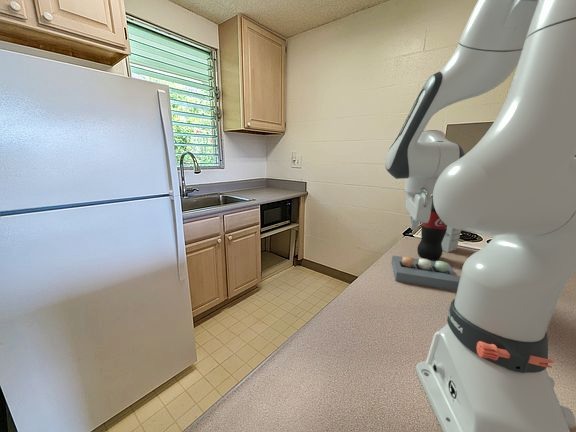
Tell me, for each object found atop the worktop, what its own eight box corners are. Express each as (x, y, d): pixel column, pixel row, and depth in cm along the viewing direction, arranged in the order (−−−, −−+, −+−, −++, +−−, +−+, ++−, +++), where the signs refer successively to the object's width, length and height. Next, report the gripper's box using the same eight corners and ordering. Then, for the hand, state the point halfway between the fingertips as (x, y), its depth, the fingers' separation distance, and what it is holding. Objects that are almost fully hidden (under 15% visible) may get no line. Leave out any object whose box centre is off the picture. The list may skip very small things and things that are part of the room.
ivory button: (431, 270, 78) (432, 263, 78) (418, 268, 79) (420, 262, 79) (428, 265, 81) (429, 259, 81) (416, 263, 83) (417, 257, 82)
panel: (460, 291, 72) (462, 282, 71) (395, 280, 77) (396, 272, 77) (446, 271, 85) (448, 263, 84) (391, 262, 90) (392, 255, 89)
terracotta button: (414, 267, 80) (415, 261, 79) (402, 265, 81) (403, 259, 80) (412, 263, 83) (413, 257, 82) (400, 261, 84) (401, 255, 83)
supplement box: (430, 246, 108) (435, 219, 105) (440, 244, 111) (445, 217, 108) (447, 252, 102) (453, 223, 99) (457, 249, 105) (463, 221, 102)
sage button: (449, 272, 77) (450, 266, 76) (436, 270, 78) (437, 264, 77) (445, 268, 80) (446, 261, 79) (433, 266, 81) (434, 260, 81)
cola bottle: (444, 262, 92) (461, 183, 84) (420, 260, 93) (435, 182, 85) (435, 254, 100) (449, 180, 92) (413, 252, 101) (425, 179, 93)
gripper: (441, 192, 65) (431, 240, 68) (424, 183, 84) (418, 222, 87) (415, 190, 66) (407, 237, 70) (404, 182, 85) (399, 220, 89)
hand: (413, 228), depth 79 cm, fingers closed
